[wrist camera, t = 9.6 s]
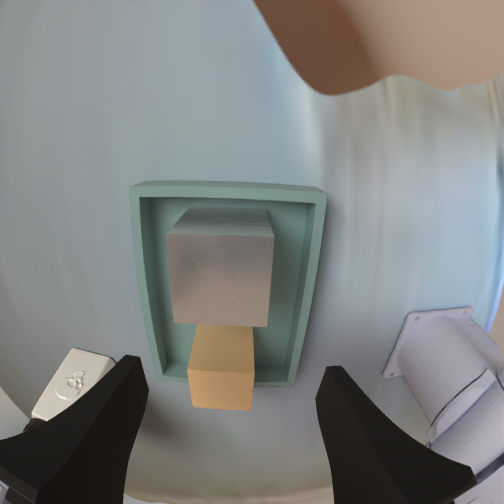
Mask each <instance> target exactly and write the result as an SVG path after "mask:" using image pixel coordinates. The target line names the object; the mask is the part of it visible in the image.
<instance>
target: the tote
mask: <svg viewBox="0 0 504 504" xmlns="http://www.w3.org/2000/svg"><path fill="white" fill-rule="evenodd" d="M326 202H327V193H325V192H324V191H322V190H320V189H318V188H317V187H308V186H296V185H283V184H268V183H250V182H226V181H144V182H141V183H138V184H136V185H133V186H130V209H131V224H132V237H133V247H134V257H135V265H136V273H137V281H138V288H139V294H140V301H141V307H142V312H143V318H144V323H145V328H146V333H147V338H148V343H149V348H150V352H151V357H152V361H153V365H154V369H155V373H156V377H157V379H158V380H165V381H173V382H182V383H189V379H188V372H187V367H188V363H189V358H190V354H191V350H192V345H193V341H194V337H195V333H196V329H197V325H198V324H186V323H174V318H173V310H172V301H171V292H170V283H169V272H168V260H167V246H166V233H167V232H168V231H169V229H170V228H171V227H172V226H173V225H174V224H175V223H176V222H177V221H178V219H179V218H180V217H181V216H182V215H183V214H184V213H185V212H186V211H187V210H188V209H189V208H190V207H230V208H259V209H266V212H267V215H268V218H269V221H270V225H271V228H272V231H273V234H274V250H273V263H272V275H271V287H270V299H269V310H268V321H267V327H253V347H254V371H255V374H254V385H253V387H293V386H294V382H295V377H296V373H297V369H298V365H299V360H300V356H301V351H302V347H303V342H304V337H305V333H306V328H307V323H308V318H309V313H310V307H311V302H312V296H313V291H314V285H315V279H316V273H317V267H318V261H319V254H320V247H321V241H322V233H323V226H324V218H325V210H326Z"/></svg>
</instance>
